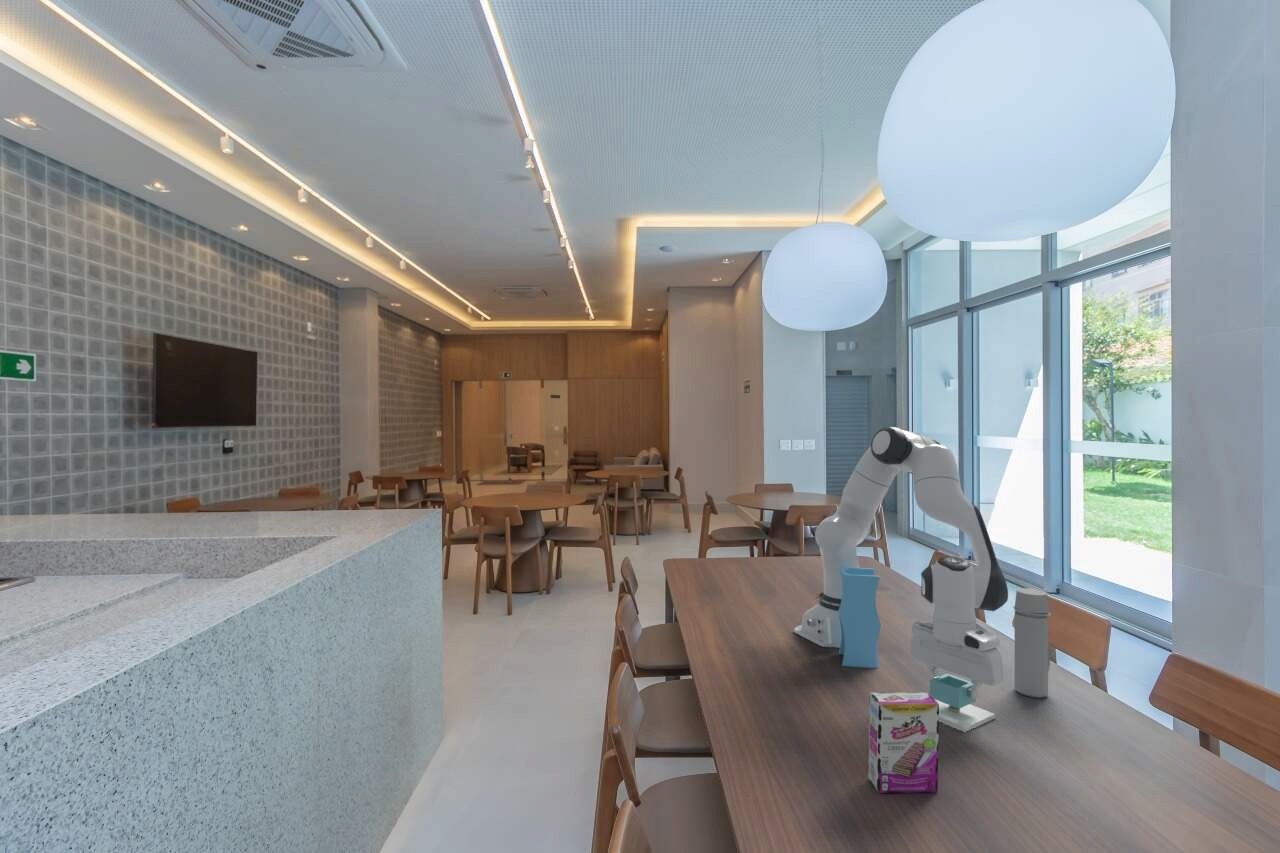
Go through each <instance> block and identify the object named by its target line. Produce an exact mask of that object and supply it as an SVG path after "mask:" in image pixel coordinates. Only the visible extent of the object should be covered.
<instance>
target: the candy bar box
mask: <svg viewBox="0 0 1280 853" xmlns="http://www.w3.org/2000/svg"><path fill="white" fill-rule="evenodd" d="M868 698H869V700H868V702H869V704H868V705H869V706H868V710H869V711H868V765H867V766H868V769H867V770H868V772H867V773H868V776H867V778H868V780H869V782H870V783H871V784H872V786H873V788H874V789H875V791H876V792H877V793H878V794H906V793H907V794H911V793H913V794H914V793H916V794H917V793H938V790H939V787H938V786H939V785H938V784H939V782H938V780H939V740H940V739H939V738H940V737H939V734H940V733H939V731H940V730H939V729H940V725H939V724H940V722H939V703H938V702H937V701H936V700H934V699H933V698H932V697H931V696H930V693H928V692H869V697H868Z"/></svg>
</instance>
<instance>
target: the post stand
mask: <svg viewBox="0 0 1280 853" xmlns="http://www.w3.org/2000/svg"><path fill="white" fill-rule="evenodd" d="M934 700H935V699H934ZM936 701H937V702H938V703H939V723H941V722H942V724H943V725H946V726H948V725H949V727H951V728H953V729H955V728H956V729H955V730H957V731H960V730H961V731H960V732H962V731H963V732H962V733H967V732H966V731H968V732H969V730H970V731H971V729H972V730H974V729H976V728H978V727H980V726H982V725H985V724H986V723H989V722H990V721H993V720H994V719H996V714H995V713H993V712H990V711H988V710H986V709H983V708H980V707H978V706H975V705H973V704H969V705H966V706H964V707H962V708H960V709H958V708H956V707H953V706H950V705H948V704H945V703H943V702H940V701H938V700H936ZM973 728H974V729H973Z"/></svg>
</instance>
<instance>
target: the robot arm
mask: <svg viewBox="0 0 1280 853" xmlns="http://www.w3.org/2000/svg"><path fill="white" fill-rule="evenodd" d="M900 472H907V473H909V474H912V477H913V478H912V479H913V490H914V491H913V492H914V497H915V498H914V499H915V503H916V505H917V506H918V509H920V511H922V512H923V513H924V514H925V515H926V516H928V517H929V518H931V519H933V520H936V521H938V522H942V523H944V524H947V525H949V526H952V527H954V528H956V529H957V530H960V531H961V532H963V534H965V535H966V537H967V538H968V541H969V545H970V548H971V550H972V554H973V558H974V561H975V563H976V566H973V565H972V563H971V562H970V561H968V560H967V559H965V558H961V557H957V556H942V557H939V558H937V559H936V560H935V563H934V564H932V565H928V566H927V567H925V569H924V570H923V571H921V572H920V575H921V586H920V587H921V591H920V593H921V594H920V595H921V596H922V597H923V598H924V599H925V600H926V601H927V602H929V603H930V604H933V605H934V608H933V611H932V623H930V622H925V621H923V620H917V621H914V623H913V624H912V625H911V628H912V630H911V633H912V635H911V641H910V650H909V651H910V655H911V657H912V659H913V660H916V661H919V662H921V663H925V664H927V665H926V666H927V671H928V672H929V674H930V676H931V679H934V678H937V677H939V676H940V674H939V673H938V669H937V668H939V669H941V670H945V671H947V672H950V673H953V674H956V675H959V676H962V677H965V678H967V679H970V680H971V681H970V682H971V683H972V684H974V685H973V687H972V688H969V689H967V697H969V698H972V699H975V698H976V699H977V698H978V690H979V689H980V688H981V687H982V685H983V684H984V685H988V686H990V687H993V686H997V685H998V684H1000V683H1002V681H1003V680H1004V665H1003V664H1004V663H1003V658H1002V654H1001V652H1000V650H999V649H998V648H997V647H998V646H1000V638H999V637H998V636H997V635H996V634H994V633H992V632H990V631H989V630H987V629H986V628H984V627H982V626H981V625H979V624H978V623H977V617H976V614H975V609H978V610H982V611H989V612H995V611H997V610H999V609H1000V608H1003V606H1004V605H1005V604H1006V603H1007V601H1008V599H1009V588H1008V583H1007V581H1006V578H1005V575H1004V574H1003V571H1002V569H1001V567H1000V565H999V562H998V560H997V556H996V553H995V551H994V547H993V544H992V541H991V538H990V535H989V532H988V529H987V526H986V524H985V521H984V519H983V518H984V517H983V515H982V514H981V511H980V509H979V508H978V506H977V505H976V504H975V503H972V502H970V500H969V499H968V498H967V497H966V495H965V494H964V492H963V490H962V486H961V478H960V472H959V469H958V464H957V460H956V458H955V455H954V453H953V451H952V450H951V449H950V448H948V447H947V446H945V445H942V444H941V443H940V442H939V441H936V440H934V439H930V438H929V437H928V436H927V437H926V436H924V435H922V434H920V433H916V432H912V431H909V430H905V429H904V430H903V429H901V428H899V427H895V426H887V427H886V426H885V427H882V428H880V429H879V430H878V431H877V432H876V433H874V435H873V438H872V440H871V444H870V446H869V447H868V448H867V450H866V451H865V452H864V453H863V455H862V456H861V457H860V459H859V460H858V462H857V464H856V466H855V467H854V469H853V471H852V474H851V475H850V477H849V478H848V480H847V483H846V484H845V486H844V488H843V490H842V495H841V498H840V499H841V500H840V502H839V506H838V507H837V509H836V512H835V513H834V514H833V515H830V516H827V517H826V518H824V519H823V520H822V521H821V522H820V523H819V524H818V525H817V527H816V529H815V530H814V531H815V532H814V537H815V538H814V539H815V542H816V544H817V546H819V552H820V557H821V562H822V567H823V591H822V592H820V593H818V594H816V596H815V597H816V599H819V601H818V603H817V604H816V605H813V607H811V608H809V609H807V610H806V611H805V612H804V613H803V615H802V619H801V625H798V626H797V625H796V627H794V629H793V633H795V634H797V635H798V636H801V637H802V638H804V639H806V640H808V641H810V642H812V643H814V644H816V645H818V646H820V647H823V648H838V649H840V644H841V625H840V620H839V615H838V610H839V607H840V604H841V600H842V593H843V590H842V580H841V574H840V569H839V568H841V567H849V568H861V567H860V565H859V564H860V563H859V559H858V555H857V546H858V545H860V544H861V543H863V542H864V541H865V539H866V537H867V535H868V533H869V530H870V528H871V526H872V523H873V520H874V518H875V517H876V513H877V511H878V508H879V507H880V505H881V503H882V501H883V499H884V497H886V494H887V493H888V491H889V489H890V487H891V485H892V483H893V481H894V479H895V477H896V476H897V475H898V473H900Z"/></svg>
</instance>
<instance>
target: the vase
mask: <svg viewBox="0 0 1280 853" xmlns="http://www.w3.org/2000/svg"><path fill="white" fill-rule="evenodd" d="M839 569H840V574H841V580H842V590H843V593H842V600H841V604H840V607H839V610H838V615H839V620H840V625H841V644H840V648H838V655H842V657H843V658H842V664H841V665H842V667H851V668H852V667H854V668H866V669H868V668H869V669H878V668H880V664H879V658H878V656H879V655H878V640H879V634H880V631H881V621H880V617H879V615H878V610H877V604H876V601H877V600H876V596H877V589H878V585H879V583H880V579H881V576H880V575H875V568H869V567H868V568H867V567H860V568H849V567H841V568H839Z"/></svg>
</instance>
